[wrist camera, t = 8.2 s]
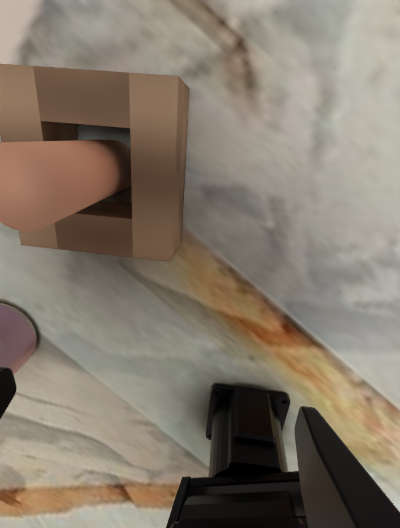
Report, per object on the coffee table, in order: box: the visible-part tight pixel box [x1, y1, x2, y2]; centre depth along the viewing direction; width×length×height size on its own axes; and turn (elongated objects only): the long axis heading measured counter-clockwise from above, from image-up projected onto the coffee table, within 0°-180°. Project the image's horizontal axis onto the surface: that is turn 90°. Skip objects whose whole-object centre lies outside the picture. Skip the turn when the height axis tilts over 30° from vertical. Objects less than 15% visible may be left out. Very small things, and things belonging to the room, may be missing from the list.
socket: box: [0, 64, 189, 262], centre depth 17 cm, size 9×9×4 cm
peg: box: [0, 140, 131, 232], centre depth 14 cm, size 3×3×9 cm
